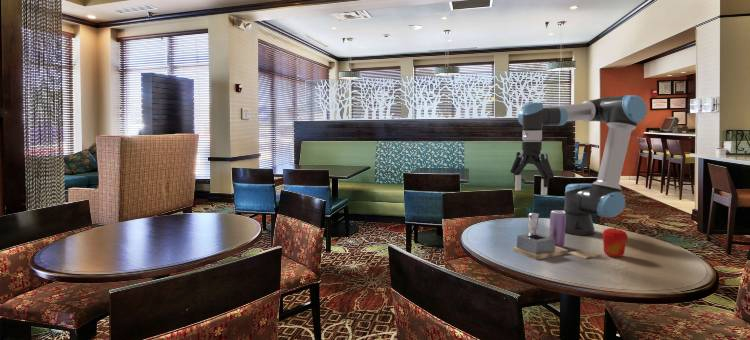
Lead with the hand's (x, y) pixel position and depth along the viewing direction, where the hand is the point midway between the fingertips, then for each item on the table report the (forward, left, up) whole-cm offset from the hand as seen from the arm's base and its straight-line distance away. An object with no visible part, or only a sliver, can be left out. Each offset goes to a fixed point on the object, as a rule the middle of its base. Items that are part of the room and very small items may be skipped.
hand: (530, 192), depth 170 cm
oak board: (+1, +7, -23) cm, 24 cm away
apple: (-22, +23, -23) cm, 39 cm away
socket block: (+4, +7, -22) cm, 23 cm away
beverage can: (-11, +5, -23) cm, 26 cm away
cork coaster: (-11, +17, -23) cm, 31 cm away
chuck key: (-7, -5, -23) cm, 25 cm away
